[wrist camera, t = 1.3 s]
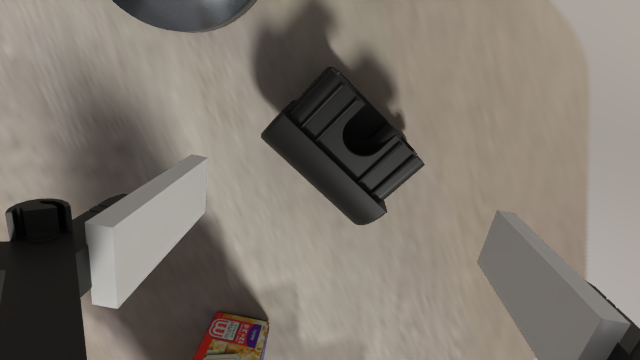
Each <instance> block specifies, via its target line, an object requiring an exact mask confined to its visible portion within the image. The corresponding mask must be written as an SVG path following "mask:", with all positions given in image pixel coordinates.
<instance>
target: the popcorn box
mask: <svg viewBox="0 0 640 360" xmlns="http://www.w3.org/2000/svg"><path fill="white" fill-rule="evenodd" d="M268 332H269V322H265V321H261V320H256V319H251V318H246V317H241V316H237V315H231V314H226V313H221V312H217V313H216V314H215V315H214V318H213V320H212V321H211V324H210V326H209V327H208V329H207V332H206V334H205V336H204V338H203V340H202V342H201V344H200V346H199V348H198V350H197V352H196V354H195V356H194V358H193V360H263V358H264V353H265V348H266V342H267V337H268Z"/></svg>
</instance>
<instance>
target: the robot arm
mask: <svg viewBox="0 0 640 360" xmlns="http://www.w3.org/2000/svg"><path fill="white" fill-rule="evenodd" d="M207 169H208V157H202V156H197V155H190V156H188V157H187V158H185V159H184V160H182V161H180V162H179V163H177V164H176V165H174V166H173V167H171V168H169V169H168V170H166V171H165V172H163V173H162V174H160V175H158V176H157V177H155V178H154V179H152V180H151V181H149V182H147V183H146V184H144V185H143V186H141V187H140V188H138V189H136V190H135V191H133V192H132V193H130V194H129V195H128V194H121V195H118V196H114V197H111V198H108V199H107V200H105V201H103V202H102V203H100V204H98V206H95V207H93V208H92V209H90V210H89V212H88V211H87V212H85V213H83V214H82V215H80V216H78V217H77V218H75V219H73V220H72V216H71V207H70V205H69V203H68V202H65V201H63V200H59V199H36V200H29V201H25V202H22V203H18V204H16V205H14V206H12V207H10V208H9V209H8V210H7V211H6V213H5V215H6V221H7V226H8V232H9V237H10V242H0V360H87V356H86V346H85V337H84V328H83V318H82V309H81V300H80V297H81V296H83V295H84V294H85V293H86V292H87V291H88V290H89V289H90V288H91V296H92V304H94V305H99V306H104V307H109V308H115V309H118V308H119V307H120V306H121V305H122V303H123V302H124V301H125V300H126V299H127V298H128V297H129V296H130V295H131V294H132V292H133V291H134V290H135V289H136V288H137V287H138V286H139V285H140V284H141V282H142V281H143V280H144V279H145V278H146V277H147V276H148V275H149V274H150V273H151V271H152V270H153V269H154V268H155V267H156V266H157V265H158V264H159V263H160V262H161V260H162V259H163V258H164V257H165V256H166V255H167V254H168V253H169V252H170V250H171V249H172V248H173V247H174V246H175V245H176V244H177V243H178V242H179V241H180V239H181V238H182V237H183V236H184V235H185V234H186V233H187V232H188V231H189V230H190V228H191V227H192V226H193V225H194V224H195V223H196V222H197V221H198V220H199V218H200V217H201V216H202V215H203V214H204V213H205V210H206V190H207ZM477 263H478V264H479V266H480V268H481V269H482V271H483V272H484V274H485V276H486V277H487V279H488V280H489V282H490V284H491V285H492V287H493V288H494V290H495V292H496V293H497V295H498V296H499V298H500V300H501V301H502V303H503V304H504V306H505V308H506V309H507V311H508V312H509V314H510V316H511V317H512V319H513V320H514V322H515V324H516V325H517V327H518V328H519V330H520V332H521V333H522V335H523V336H524V338H525V340H526V341H527V343H528V344H529V346H530V348H531V349H532V351H533V352H534V354H535V356H536V357H537V359H538V360H640V329H639V328H638V327H637V326H636V325H635V324H634V323H633V322H632V321H631V320H630V319H629V318H628V317H627V316H625V314H623V313H622V312H621V311H620V310H619V309H618V308H616V307H615V305H614V304H613V303H612V302H611V301H610V300H608V299H606V297H605V296H604V295H603V294H602V293H601V292H600V291H599V290H598V289H597V288H596V287H595V286H593V285H592V284H590V283H589V282H587V281H586V280H584V279H583V278H582V277H581V276H580V275H579V274H578V273H577V272H576V271H575V270H574V269H572V268H571V267H570V266H569V265H568V264H567V263H566V262H565V261H564V260H563V259H562V258H561V257H560V256H559V255H558V254H557V253H556V252H555V251H554V250H553V249H551V248H550V247H549V246H548V245H547V244H546V243H545V242H544V241H543V240H542V239H541V238H540V237H539V236H538V235H537V234H536V233H535V232H534V231H533V230H531V229H530V228H529V227H528V226H527V225H526V224H525V223H524V222H523V221H522V220H521V219H520V218H519V217H518V216H517V215H516V214H515V213H510V212H505V211H499V210H497V212H496V215H495V217H494V220H493V222H492V225H491V228H490V230H489V233H488V235H487V238H486V240H485V243H484V246H483V248H482V251H481V253H480V256H479V258H478V261H477Z"/></svg>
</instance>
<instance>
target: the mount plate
mask: <svg viewBox="0 0 640 360" xmlns="http://www.w3.org/2000/svg"><path fill="white" fill-rule="evenodd" d="M112 1H113V2H115V3H116V4H117V5H118V6H119V7H120V8H122V9H123V10H124V11H126V12H127V13H129V14H130V15H131V16H133V17H135V18H137V19H139V20H141V21H142V22H145V23H147V24H150V25H152V26H155V27H158V28H162V29H166V30H173V31H180V32H190V33H196V32H207V31H212V30H216V29H219V28H221V27H224V26H226V25H228V24H230V23H232V22H234V21H236V20H237V19H238V18H240V17H241V16H242V15H244V14H245V13H246V12H247V11H248V10H249V9H250V8H251V7H252V6H253V5H254V4H255V2H256V1H257V0H112Z"/></svg>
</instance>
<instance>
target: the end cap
mask: <svg viewBox="0 0 640 360" xmlns="http://www.w3.org/2000/svg"><path fill="white" fill-rule="evenodd" d="M261 138H262V139H263V140H264V141H265V142H266V143H267V144H268V145H269V146H271V147H272V148H273V149H274V150H275V151H276V152H277V153H278V154H279V155H280V156H281V157H283V158H284V159H285V160H286V161H287V162H288V163H289V164H290V165H291V166H292V167H293V168H295V169H296V170H297V171H298V172H299V173H300V174H301V175H302V176H303V177H304V178H305V179H307V180H308V181H309V182H310V183H311V184H312V185H313V186H314V187H315V188H316V189H317V190H318V191H320V192H321V193H322V194H323V195H324V196H325V197H326V198H327V199H328V200H329V201H330V202H332V203H333V204H334V205H335V206H336V207H337V208H338V209H339V210H340V211H341V212H342V213H344V214H345V215H346V216H347V217H348V218H349V219H350V220H351V221H352V222H353V223H355V224H357V225H366V224H369V223H371V222H373V221H375V220H377V219H378V218H380V217H381V216H383V215H384V214H385V213H387V209H386V206H385V202H384V199H385V198H387V197H388V196H389V195H390V194H391V193H392V192H394V191H395V190H396V189H397V188H398V187H399V186H401V185H402V184H403V183H404V182H405V181H406V180H408V179H409V178H410V177H411V176H412V175H413V174H415V173H416V172H417V171H418V170H419V169H420V168H422V167H423V166H424V165H425V164H424V163H423V161H422V160H421V159H420V158H419V157H418V156H416V155H417V153H416V152H415V150H414V149H413V148H412V147H411V146H410V145H409V144H408V143H407V141H406V140H405V139H404V138H403V137H402V136H401V135H400V134H399V133H398V131H397V130H396V129H395V128H394V127H393V126H392V125H391V124H390V123H389V122H388V121H387V120H386V119H385V118H384V117H383V116H382V115H381V114H380V113H379V112H378V111H377V110H376V109H375V108H374V107H373V106H372V105H371V104H370V103H369V102H368V100H367V99H366V98H365V97H364V96H363V95H362V94H361V93H360V92H359V91H358V90H357V89H356V88H355V87H354V86H353V85H352V84H351V83H350V82H349V81H348V80H347V79H346V78H345V77H344V76H343V75H342V74H341V73H340V72H339V71H338V70H336V69H335V68H334V67H328V68H326V70H325V71H324V72H323V73H322V74H321V75H320V76H319V77H318V78H317V79H316V80H315V81H314V82H313V84H312V85H311V86H310V87H309V88H308V89H307V90H306V91H305V92H304V93H303V94H302V95H301V97H300V98H299V99H298V100H297V101H295V100H293V101H292V102H291V103H290V104H289V105H288V106H286V107H285V108H284V109H283V110H282V111H281V112H280V113H279V114H278V116H277V117H276V118H275V119H274V120H273V121H272V122H271V123H270V124H269V126H268V127H267V128H266V129H265V130H264V131H263V132H262V134H261Z"/></svg>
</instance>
